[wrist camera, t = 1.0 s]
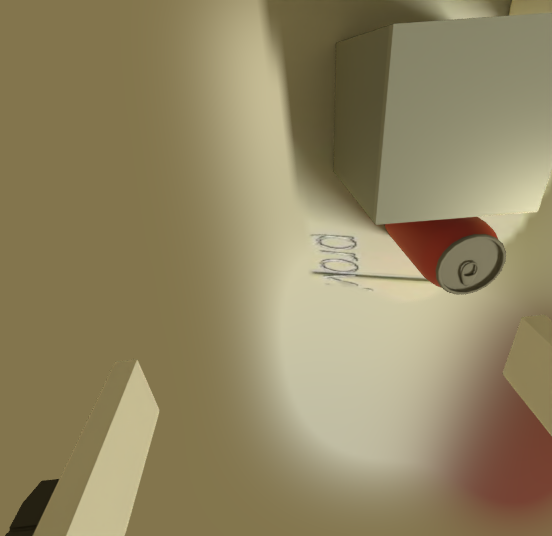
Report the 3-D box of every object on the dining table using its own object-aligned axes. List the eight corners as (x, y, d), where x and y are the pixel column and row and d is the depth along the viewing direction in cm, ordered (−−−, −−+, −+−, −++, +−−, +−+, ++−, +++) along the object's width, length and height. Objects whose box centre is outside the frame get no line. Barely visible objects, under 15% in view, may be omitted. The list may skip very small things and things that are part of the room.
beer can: (381, 243, 40) (427, 305, 29) (383, 188, 36) (434, 235, 26) (438, 235, 39) (504, 294, 29) (445, 179, 36) (522, 223, 26)
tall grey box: (335, 43, 30) (393, 23, 17) (461, 34, 30) (606, 8, 18) (333, 171, 35) (375, 224, 23) (439, 162, 35) (537, 211, 23)
